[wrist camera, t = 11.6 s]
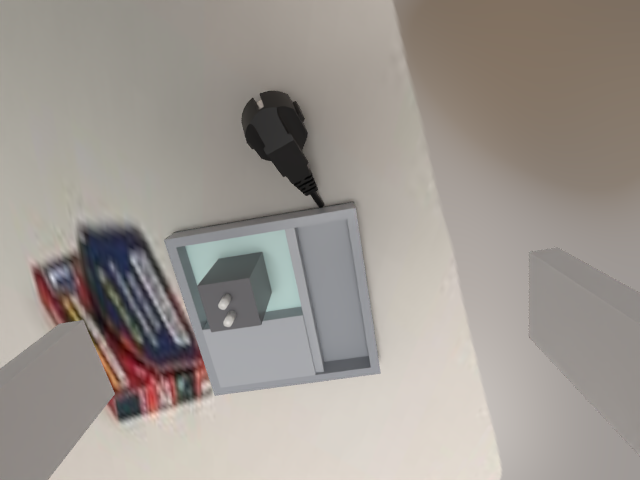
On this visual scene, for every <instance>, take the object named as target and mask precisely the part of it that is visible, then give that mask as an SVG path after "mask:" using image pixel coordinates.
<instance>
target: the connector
mask: <svg viewBox="0 0 640 480" xmlns="http://www.w3.org/2000/svg"><path fill="white" fill-rule="evenodd" d="M197 288H198V291H199V294H200V298H201V301H202V304H203V307H204V311H205V314H206V317H207V320H208V324H209V327H210V330H211V332H218V331H224V330H231V329H238V328H245V327H252V326H259V325H262V322H263V319H264V316H265V313H266V309H267V306H268V303H269V300H270V297H271V294H272V290H271V286H270V282H269V277H268V273H267V269H266V265H265V261H264V256H263V252H258V253H251V254H245V255H239V256H232V257H226V258H220V259H218V260H217V261H216V263H215V264H214V265H213V266H212V268H211V269H210V270H209V271H208V273H207V274H206V275H205V277H204V278H203V279H202V280H201V282H200V283H199V284H198V285H197Z"/></svg>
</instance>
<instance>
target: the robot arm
mask: <svg viewBox="0 0 640 480" xmlns="http://www.w3.org/2000/svg"><path fill="white" fill-rule="evenodd" d="M529 338H530V339H531V340H532V341H533V342H534V343H535V344H536V345H537V347H538V348H539V349H540V350H541V351H542V352H543V353H544V354H545V355H546V356H547V357H548V358H549V359H550V360H551V361H552V363H553V364H554V365H555V366H556V367H557V368H558V369H559V370H560V371H561V372H562V373H563V374H564V376H565V377H566V378H567V379H568V380H569V381H570V382H571V383H572V384H573V385H574V386H575V387H576V389H577V390H578V391H579V392H580V393H581V394H582V395H583V396H584V397H585V398H586V399H587V400H588V401H589V402H590V404H591V405H592V406H593V407H594V408H595V409H596V410H597V411H598V412H599V413H600V414H601V415H602V416H603V418H604V419H605V420H606V421H607V422H608V423H609V424H610V425H611V426H612V427H613V428H614V429H615V430H616V432H617V433H618V434H619V435H620V436H621V437H622V438H623V439H624V440H625V441H626V442H627V443H628V444H629V446H630V447H632V449H633V450H634V451H635V452H636V453H637V454H638V455H639V456H640V293H639V292H638V291H636V290H634V289H632V288H630V287H629V286H627V285H625V284H623V283H621V282H619V281H618V280H616V279H614V278H612V277H610V276H609V275H607V274H605V273H603V272H601V271H599V270H598V269H596V268H594V267H592V266H590V265H589V264H587V263H585V262H583V261H581V260H580V259H578V258H576V257H574V256H572V255H571V254H569V253H567V252H565V251H563V250H561V249H560V248H551V249H545V250H538V251H532V252H529ZM114 394H115V393H114V391H113V388H112V386H111V384H110V381H109V379H108V377H107V375H106V372H105V370H104V368H103V365H102V363H101V361H100V358H99V356H98V354H97V351H96V349H95V347H94V344H93V342H92V340H91V337H90V335H89V333H88V331H87V328H86V326H85V324H84V321H83V320H82V321H75V322H69V323H62V324H59V325H57V326H56V327H55V328H53V329H52V330H51V331H49V332H48V333H47V334H46V335H44V336H43V337H42V338H40V339H39V340H38V341H36V342H35V343H34V344H32V345H31V346H30V347H28V348H27V349H26V350H24V351H23V352H22V353H21V354H19V355H18V356H17V357H15V358H14V359H13V360H11V361H10V362H9V363H7V364H6V365H5V366H3V367H2V368H1V369H0V480H48V479H49V478H50V477H51V475H52V474H53V473H54V471H55V470H56V469H57V468H58V466H59V465H60V464H61V462H62V461H63V460H64V459H65V457H66V456H67V455H68V453H69V452H70V451H71V450H72V448H73V447H74V446H75V444H76V443H77V442H78V441H79V439H80V438H81V437H82V435H83V434H84V433H85V432H86V430H87V429H88V428H89V426H90V425H91V424H92V423H93V421H94V420H95V419H96V417H97V416H98V415H99V414H100V412H101V411H102V410H103V408H104V407H105V406H106V405H107V403H108V402H109V401H110V399H111V398H112V397H113V396H114Z"/></svg>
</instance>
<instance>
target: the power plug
mask: <svg viewBox="0 0 640 480" xmlns="http://www.w3.org/2000/svg"><path fill="white" fill-rule="evenodd" d="M260 96H261V100H259V101H258V102H256V101H255V100H254V98H252V99H251V100H250V101H249V102H248V103H247V104H246V106H245V108H244V110H243V113H242V125H243V130H244V134H245V138H246V141H247V143H248V145H249V146H250V147H251V149H255V151H256V152H257V153H258V155H259V156H260V157H261V159H264V160H268V161H272V163H273V164H274V165H275V167H276V168H277V169H278V171H279V172H280V173H281V175H282V176H283V177H285V176H286V177H287V178H288V179H289V180H290V182H291V183H292V184H294V186H295V187H297V188H298V189H299V190H300V191H301V192H303V194H304V195H306V196H308V195H311V196H312V198H313V199H314V201H315V202H316V204H317V205H318V207H320V208H322V207H323V206H324V203H323V201H322V200H321V198H320V197H319V195H318V194H317V192H316V191H317V190H318V188H317V185H316V183H315V180H314V178H313V175H312V173H311V170H310V168H309V165H308V160H307V159H306V157H305V156H304V154H303V152H302V150H303V147H304V144H305V141H306V138H307V130H306V128H305V126H304V123H303V121H304V119H305V118H304V116H303V114H302V112H301V109H300V107H299V105H298V104H297V102H296V101H295V102H293V103H292V101H291V99H290V97H289V96H288V94H285V93H283V92H279V91H267V92H263V93H260Z"/></svg>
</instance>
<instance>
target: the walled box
mask: <svg viewBox="0 0 640 480" xmlns="http://www.w3.org/2000/svg"><path fill="white" fill-rule="evenodd" d="M164 242H165V245H166V248H167V251H168V254H169V257H170V260H171V263H172V266H173V269H174V272H175V275H176V278H177V281H178V284H179V287H180V290H181V293H182V297H183V300H184V303H185V306H186V309H187V312H188V315H189V318H190V321H191V324H192V327H193V330H194V333H195V336H196V339H197V342H198V345H199V348H200V352H201V355H202V358H203V361H204V364H205V367H206V370H207V373H208V376H209V379H210V382H211V385H212V388H213V391H214V394H215V396H216V395H223V394H231V393H238V392H246V391H253V390H261V389H268V388H276V387H283V386H291V385H298V384H306V383H313V382H321V381H328V380H336V379H343V378H351V377H358V376H366V375H373V374H381V373H380V366H379V360H378V353H377V346H376V340H375V333H374V326H373V320H372V313H371V306H370V300H369V293H368V287H367V280H366V273H365V267H364V260H363V253H362V247H361V240H360V233H359V227H358V220H357V213H356V207H355V204H354V202H350V203H344V204H338V205H332V206H326V207H322V208H314V209H308V210H303V211H297V212H291V213H285V214H279V215H273V216H267V217H261V218H255V219H249V220H243V221H237V222H232V223H226V224H220V225H214V226H208V227H202V228H196V229H190V230H184V231H178V232H174V233H173V234H172V235H170V236H169V237H167V238H166V239H165V240H164ZM258 252H263V256H264V261H265V265H266V269H267V273H268V277H269V282H270V286H271V290H272V294H271V297H270V300H269V303H268V306H267V309H266V313H265V316H264V319H263V322H262V325H259V326H252V327H245V328H238V329H231V330H224V331H218V332H211V330H210V327H209V324H208V320H207V317H206V314H205V311H204V307H203V304H202V301H201V298H200V294H199V291H198V288H197V285H198V284H199V283H200V282H201V280H202V279H203V278H204V277H205V275H206V274H207V273H208V271H209V270H210V269H211V268H212V266H213V265H214V264H215V263H216V261H217V260H218V259H220V258H226V257H232V256H239V255H245V254H251V253H258Z"/></svg>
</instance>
